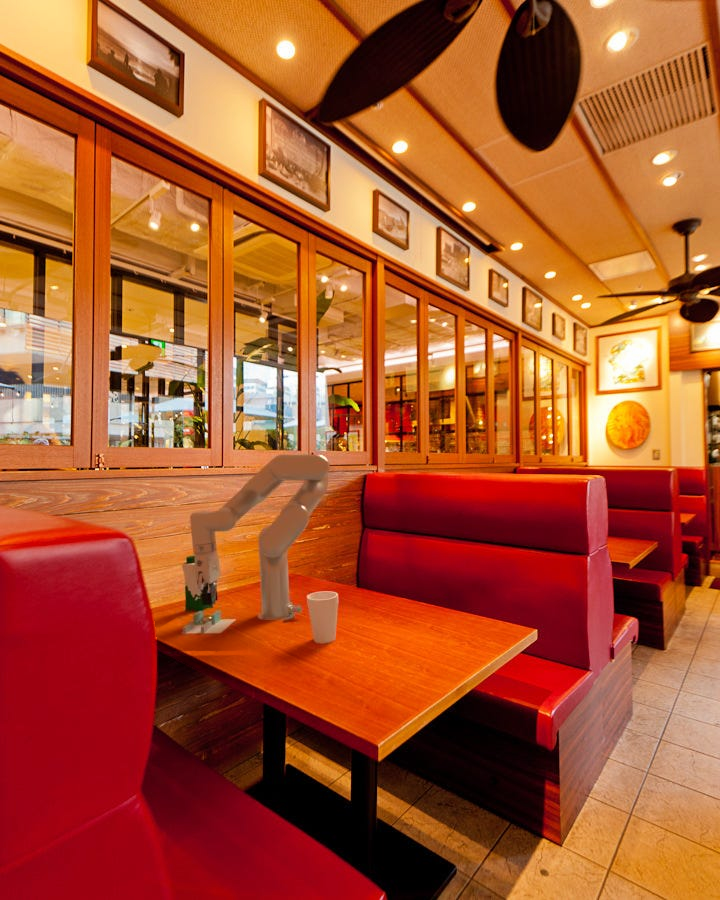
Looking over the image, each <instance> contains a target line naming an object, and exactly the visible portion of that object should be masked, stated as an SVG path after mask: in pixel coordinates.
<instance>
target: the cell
mask: <svg viewBox="0 0 720 900" xmlns="http://www.w3.org/2000/svg"><path fill="white" fill-rule="evenodd" d="M205 583H206V582H205ZM216 584H217V582H215V581H214V582H213V583H211V584H210V592H211V594H212V604H211V605H213V606H214V605H215V604H216V602H217V601H216ZM205 586H206V588H207V585H205Z"/></svg>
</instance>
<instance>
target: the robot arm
mask: <svg viewBox="0 0 720 900" xmlns="http://www.w3.org/2000/svg"><path fill="white" fill-rule="evenodd" d="M330 467H331V466H330V462H329V460H328V459H327V457H325V456H324V455H322V454H286V453H285V454H283V453H282V454H279V455H276V456H275V457H273V458H272V459H271V460H270V461H269V462H267V464H265V465H264V467H262V468H261V469H260V470H259V471H258V472H257V473H256V474H255V475H253V476H252V477H251V478H250V479H249V480H248V481H247V482H246V483H245V484H244V485H243V487H241V489H240V490H239V491H238V492H236V494H234V495H233V496H232V497H231V498H230V499H229V500H228V501H227V502H226V503H224V504H223V506H221V507H220V508H219V509H218V510H213V511H210V510H201V511H195V512H192V513H191V514H190V516H189V521H190V522H189V523H190V532H191V533H190V534H191V541H192V543H191V544H192V551H193V556H195V578H196V583H197V584H198V589H200V591H201V594H202V604H203V605H211V604H212V594H211V592H210V584H211V583H213V582H214V581H215V582H216V602H217V601H218V600H219V599H218V598H219V597H218V590H217V586H218V584H217V582H218V580H219V579H220V578H221V576H222V574H221V566H220V560H219V556H218V555H219V554H218V552H217V551H218V549H217V548H218V547H217V538H216V537H217V536H216V532H229V531H231V530H232V529H234V528H235V526H236V525H237V523H238V522H239V520H240V519H242V518H243V516H246V514H247V513H248V512H249V511H250V510H252V509H253V508H254V507H255V506H257V505H258V504H261V503H262V502H264V501H265V500H266V499H267V498H269V497H270V496H271V494H272V493H274V492H275V491H276V490H277V489H278V488H279V487H280V486H281V485H282V484H283V483H285V481H287V480H288V481H289V480H290V481H291V480H292V481H297V480H298V481H302V480H304V481H303V484H302V485H301V486H300V487H299V488H298V490H297V491H296V492H295V494H294V495H293V496H292V497H291V498H290V499H289V501H287V502H286V504H284V506H282V507H281V509H280V512H279V515H278V516H277V517H276V518H275V520H274V521H273V522H272V523H271V524H268V525H265V527H263V529H261V530H260V532H259V534H258V541H257V543H258V556H259V557H258V558H259V559H258V560H259V575H260V578H259V579H260V593H261V594H260V595H261V599H260V600H261V612H260V613H258V615H257V618H258V619H259V620H263V621H275V620H283V622H286V621H289V620H292V619H293V618H294V617H295V615H296V614H297V613H301V614H302V612H303V608H302V606H301V605H294V604H293V602H292V600H291V601H290V587H289V586H290V585H289V584H290V583H289V581H290V580H289V562H288V550H289V548H290V547H291V546H292V545H293V544H294V543H295V542H296V541H297V539H298V538H299V537H300V535H302V534H303V532H304V530H305V529H306V528H307V526H308V524H309V522H310V515H311V514H312V513H313V511H314V510H315V509H316V508H317V506H318V505H319V503H320V502H321V501H322V500H323V498H324V496H325V495H326V493H327V490H328V488H329V473H330V470H331V468H330ZM203 582H206V583H203ZM204 585H207V588H206V586H204Z"/></svg>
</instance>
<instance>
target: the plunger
mask: <svg viewBox="0 0 720 900" xmlns="http://www.w3.org/2000/svg"><path fill="white" fill-rule="evenodd" d="M211 615H212V614H210V615H203V617H201V621H202V622H208V621H211Z"/></svg>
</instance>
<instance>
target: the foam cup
mask: <svg viewBox="0 0 720 900" xmlns="http://www.w3.org/2000/svg"><path fill="white" fill-rule="evenodd" d="M339 602H340V601H339V594H338V593H337V592H335V591H330V590H329V591H328V590H326V591H325V590H324V591H323V590H321V591H315V592H312V593H310V594H307V595H306V605H307V607H308V613H309V618H310V619H309V620H310V626H311V631H312V635H313V641H314V643H316V644H330V643H332V642H334V641H335V640H336V634H337V620H338V608H339Z"/></svg>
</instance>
